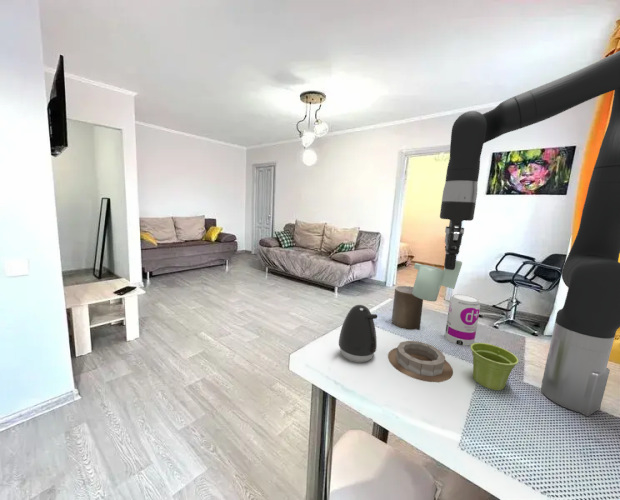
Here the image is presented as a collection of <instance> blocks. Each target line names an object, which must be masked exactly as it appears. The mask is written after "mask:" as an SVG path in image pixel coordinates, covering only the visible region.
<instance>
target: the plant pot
mask: <svg viewBox="0 0 620 500" xmlns="http://www.w3.org/2000/svg"><path fill="white" fill-rule="evenodd" d="M470 350H471V353H472V358H473V360H472V378H473V380H474V381H475V382H476V383H477V384H479V385H480V386H482V387H485V388H488V389H490V390H494V391H502V390H503V389H504V388H505V387H506V384H507V382H508V380H509V377H510V375H511V373H512V371H513V369H515V366H517V365H518V364H519V358H518V357H517V356H516V355H515V354H514V353H512V352H510V351H509V350H507V349H505V348H503V347H500V346H498V345H494V344H490V343H488V342H487V343H486V342H474V343H473V344H472V345H471V346H470Z"/></svg>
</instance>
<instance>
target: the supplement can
mask: <svg viewBox="0 0 620 500" xmlns="http://www.w3.org/2000/svg"><path fill="white" fill-rule="evenodd" d="M480 308H481V303H480V302H479V299H478V298H477V297H475V296H472V295H467V294H463V293H461V294H460V293H457V294H456V293H455V294H452V296H451V298H450V299H449V305H448V312H447V318H446V324H445V325H446V326H445V333H444V338H445V339H446V340H448V341H449V342H450V343H452V344H455V345H459V346H462V347H463V346H465V347H469V346H470V347H471V345H472V344H473V343H475V341H476V340H475V339H476V334H477V327H478V324H479V323H478V321H479V315H480V311H481V309H480Z"/></svg>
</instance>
